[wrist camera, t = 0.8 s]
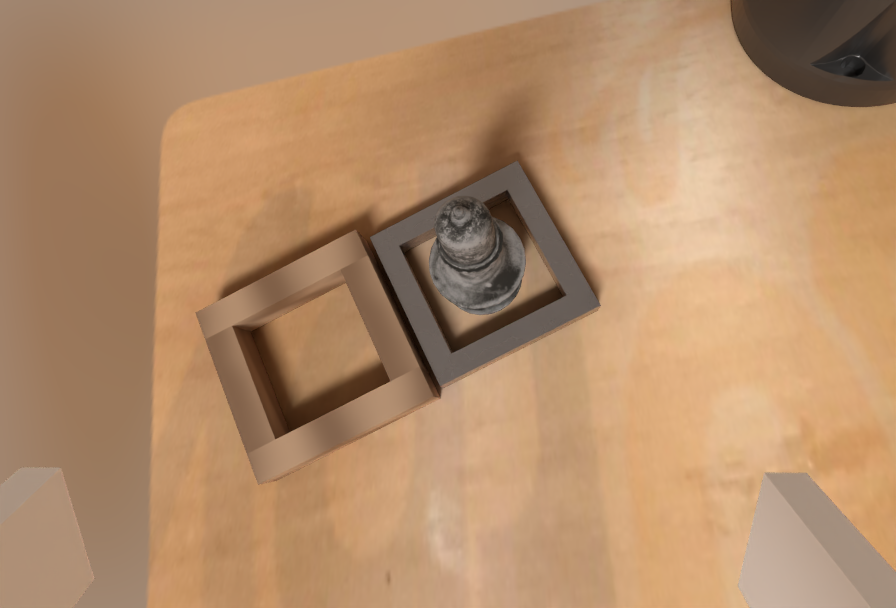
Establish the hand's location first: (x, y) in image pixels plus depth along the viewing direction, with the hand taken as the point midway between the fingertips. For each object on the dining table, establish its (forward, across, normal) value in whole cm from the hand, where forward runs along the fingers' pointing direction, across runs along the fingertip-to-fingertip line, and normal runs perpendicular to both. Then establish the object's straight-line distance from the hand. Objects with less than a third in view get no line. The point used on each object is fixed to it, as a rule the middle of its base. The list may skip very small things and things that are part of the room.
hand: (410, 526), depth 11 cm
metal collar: (+27, +2, -4) cm, 27 cm away
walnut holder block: (+25, -8, -9) cm, 28 cm away
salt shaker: (+27, +2, -4) cm, 28 cm away
